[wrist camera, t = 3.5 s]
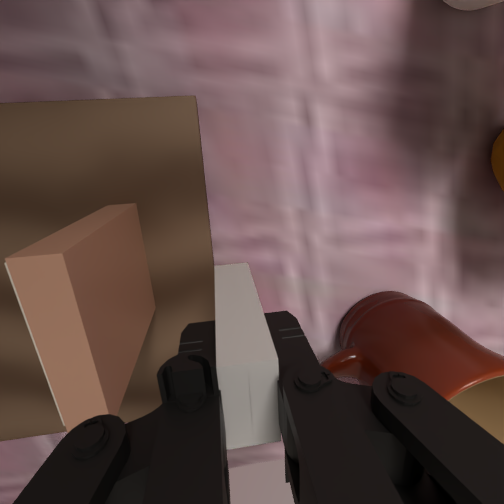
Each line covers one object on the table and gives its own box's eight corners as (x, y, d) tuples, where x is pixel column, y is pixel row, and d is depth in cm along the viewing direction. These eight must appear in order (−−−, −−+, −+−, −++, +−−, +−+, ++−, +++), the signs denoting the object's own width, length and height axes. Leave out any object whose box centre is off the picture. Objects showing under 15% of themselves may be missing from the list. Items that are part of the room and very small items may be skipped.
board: (-157, 113, 15) (-187, 110, 14) (196, 99, 17) (195, 95, 16) (-7, 429, 22) (-18, 444, 21) (228, 395, 24) (228, 407, 23)
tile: (104, 205, 17) (-3, 259, 9) (136, 203, 17) (62, 253, 9) (127, 310, 19) (62, 434, 11) (155, 307, 19) (112, 427, 11)
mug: (436, 273, 23) (598, 361, 13) (416, 364, 26) (538, 491, 16) (287, 282, 22) (348, 389, 12) (284, 377, 24) (330, 525, 15)
